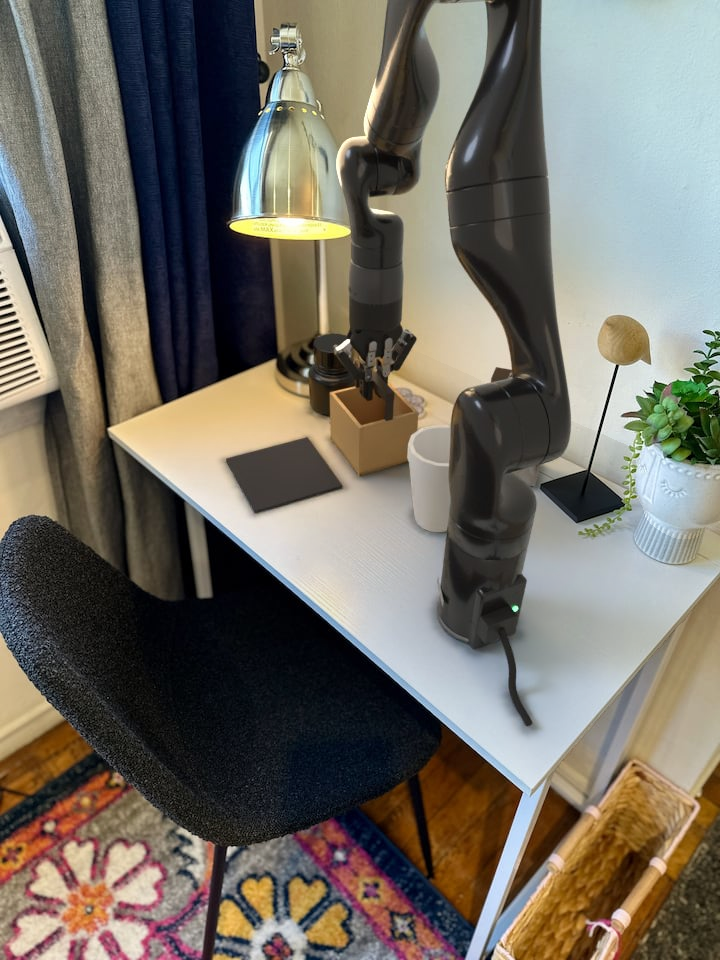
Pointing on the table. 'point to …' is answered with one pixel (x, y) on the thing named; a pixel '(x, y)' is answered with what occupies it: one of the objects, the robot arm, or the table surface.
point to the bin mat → (282, 474)
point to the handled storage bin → (372, 426)
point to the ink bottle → (327, 372)
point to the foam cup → (430, 476)
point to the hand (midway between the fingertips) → (373, 396)
